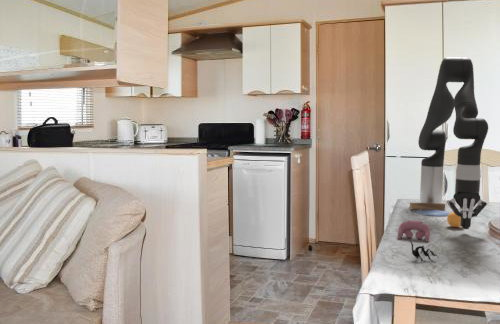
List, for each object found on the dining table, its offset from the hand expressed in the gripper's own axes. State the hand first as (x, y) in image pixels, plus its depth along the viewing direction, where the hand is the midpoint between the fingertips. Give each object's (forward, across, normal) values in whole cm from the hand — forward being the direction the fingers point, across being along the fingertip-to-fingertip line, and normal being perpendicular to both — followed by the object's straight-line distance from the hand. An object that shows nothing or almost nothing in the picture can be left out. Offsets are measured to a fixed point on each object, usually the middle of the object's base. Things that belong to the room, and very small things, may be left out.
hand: (465, 228), depth 169 cm
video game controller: (+2, +19, +9) cm, 21 cm away
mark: (+2, 0, -34) cm, 35 cm away
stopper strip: (+2, 0, -42) cm, 43 cm away
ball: (-1, 0, -10) cm, 10 cm away
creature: (+2, +23, +32) cm, 39 cm away
